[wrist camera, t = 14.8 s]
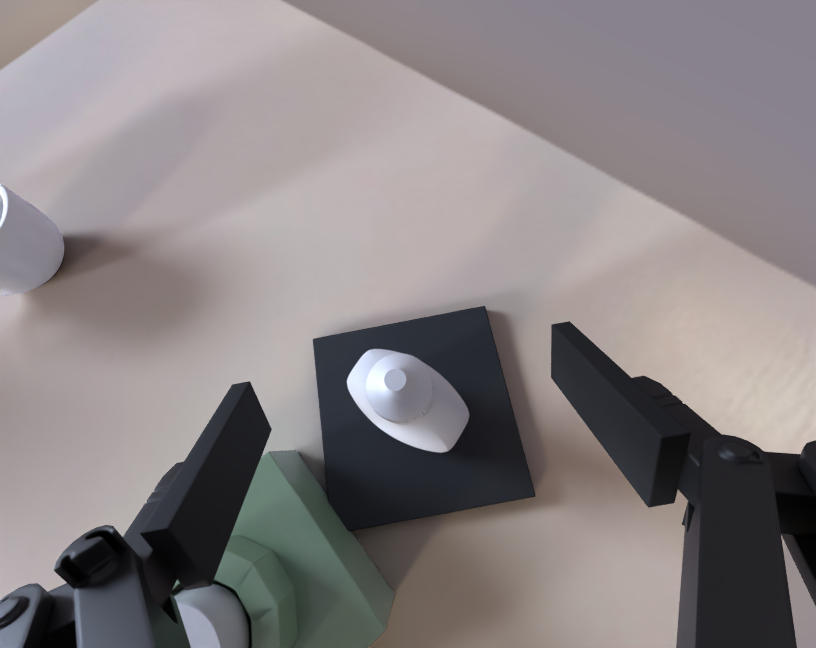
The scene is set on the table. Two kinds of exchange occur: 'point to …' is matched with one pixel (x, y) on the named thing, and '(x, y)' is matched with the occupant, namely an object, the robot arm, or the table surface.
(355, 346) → the mat
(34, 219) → the teacup
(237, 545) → the green button base
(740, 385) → the table surface
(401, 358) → the eye dropper bottle
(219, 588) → the grey round button
